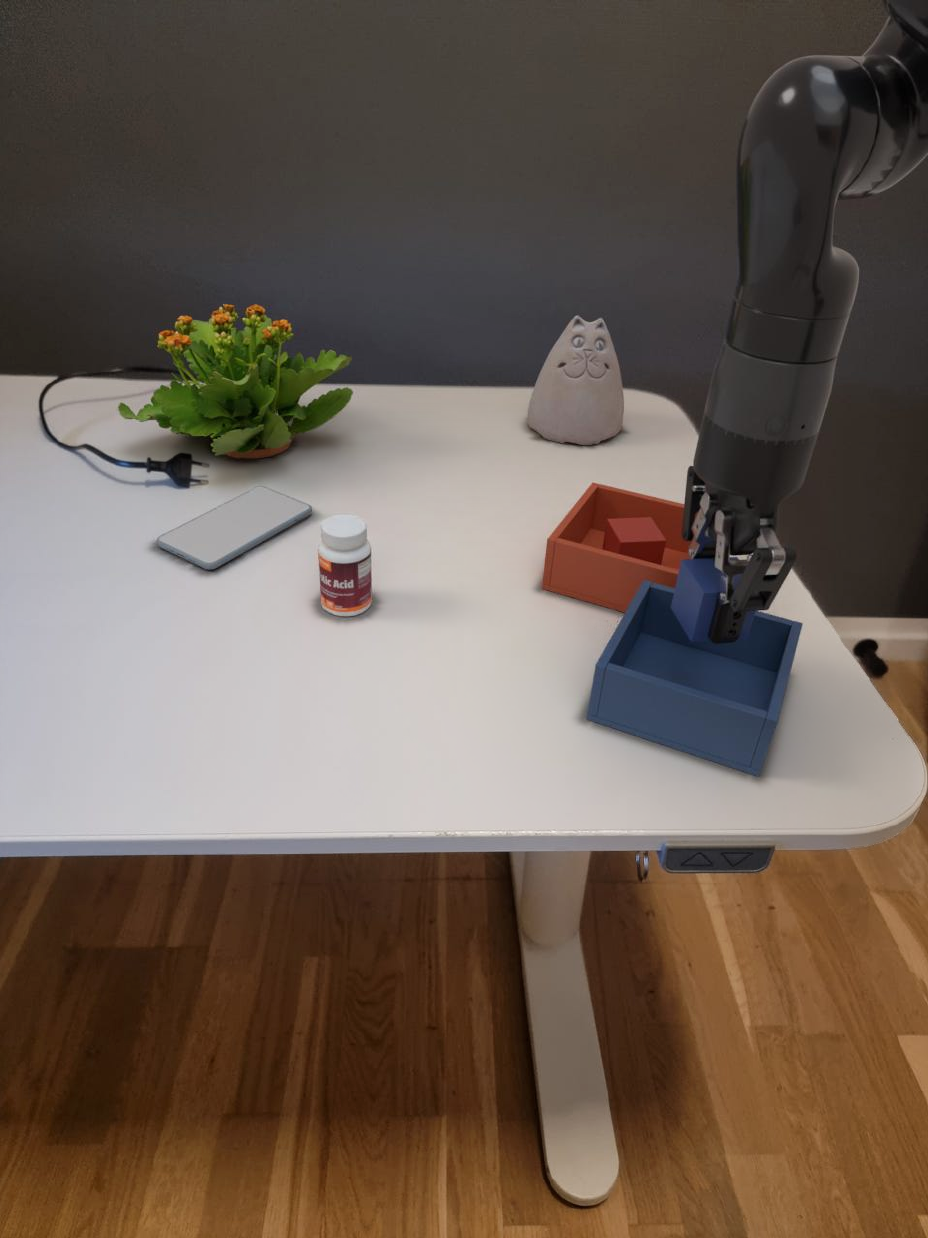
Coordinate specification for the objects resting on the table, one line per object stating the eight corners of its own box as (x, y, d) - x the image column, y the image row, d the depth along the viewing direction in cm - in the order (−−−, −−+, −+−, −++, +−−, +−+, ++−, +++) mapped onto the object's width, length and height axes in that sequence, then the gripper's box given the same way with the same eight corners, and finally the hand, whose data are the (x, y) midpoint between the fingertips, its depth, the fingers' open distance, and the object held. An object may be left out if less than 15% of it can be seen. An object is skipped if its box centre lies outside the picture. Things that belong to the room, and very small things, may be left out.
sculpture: (562, 454, 110) (576, 335, 101) (509, 421, 118) (518, 308, 109) (638, 436, 115) (658, 322, 107) (583, 405, 123) (598, 297, 115)
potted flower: (250, 392, 122) (237, 262, 112) (393, 431, 113) (392, 293, 103) (114, 456, 104) (83, 307, 94) (272, 507, 95) (256, 350, 85)
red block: (643, 556, 89) (651, 516, 86) (658, 580, 85) (666, 540, 83) (600, 558, 88) (606, 518, 86) (613, 582, 85) (620, 542, 82)
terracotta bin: (709, 560, 90) (721, 512, 87) (678, 628, 80) (690, 577, 77) (585, 528, 94) (592, 481, 91) (541, 588, 84) (546, 539, 81)
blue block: (724, 604, 70) (737, 556, 67) (747, 639, 66) (762, 589, 63) (670, 607, 69) (681, 558, 66) (690, 642, 65) (703, 592, 63)
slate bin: (785, 675, 75) (803, 622, 72) (758, 777, 65) (777, 721, 61) (633, 630, 79) (643, 579, 76) (586, 719, 69) (595, 664, 66)
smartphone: (152, 538, 87) (260, 483, 97) (153, 547, 88) (261, 491, 98) (209, 566, 83) (315, 506, 93) (210, 574, 84) (316, 514, 94)
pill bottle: (311, 610, 80) (305, 530, 75) (336, 584, 83) (332, 507, 78) (357, 623, 78) (354, 543, 73) (381, 596, 82) (379, 518, 77)
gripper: (871, 458, 52) (795, 675, 62) (768, 373, 64) (718, 568, 74) (755, 461, 51) (696, 682, 61) (672, 374, 63) (634, 572, 73)
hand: (709, 619), depth 67 cm, fingers closed on blue block, 4 cm apart
